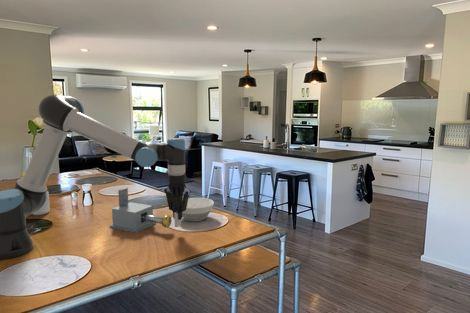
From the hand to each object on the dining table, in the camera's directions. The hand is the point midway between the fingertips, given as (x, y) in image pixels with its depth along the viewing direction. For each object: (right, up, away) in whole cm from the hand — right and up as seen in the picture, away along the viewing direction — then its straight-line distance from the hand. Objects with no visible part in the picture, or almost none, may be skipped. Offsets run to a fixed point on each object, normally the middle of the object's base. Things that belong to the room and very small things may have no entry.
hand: (177, 226), depth 149 cm
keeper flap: (-28, +11, +12) cm, 32 cm away
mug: (-79, +1, +31) cm, 85 cm away
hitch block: (-23, -2, +12) cm, 26 cm away
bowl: (+5, -1, +23) cm, 23 cm away
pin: (-13, 0, +6) cm, 14 cm away
